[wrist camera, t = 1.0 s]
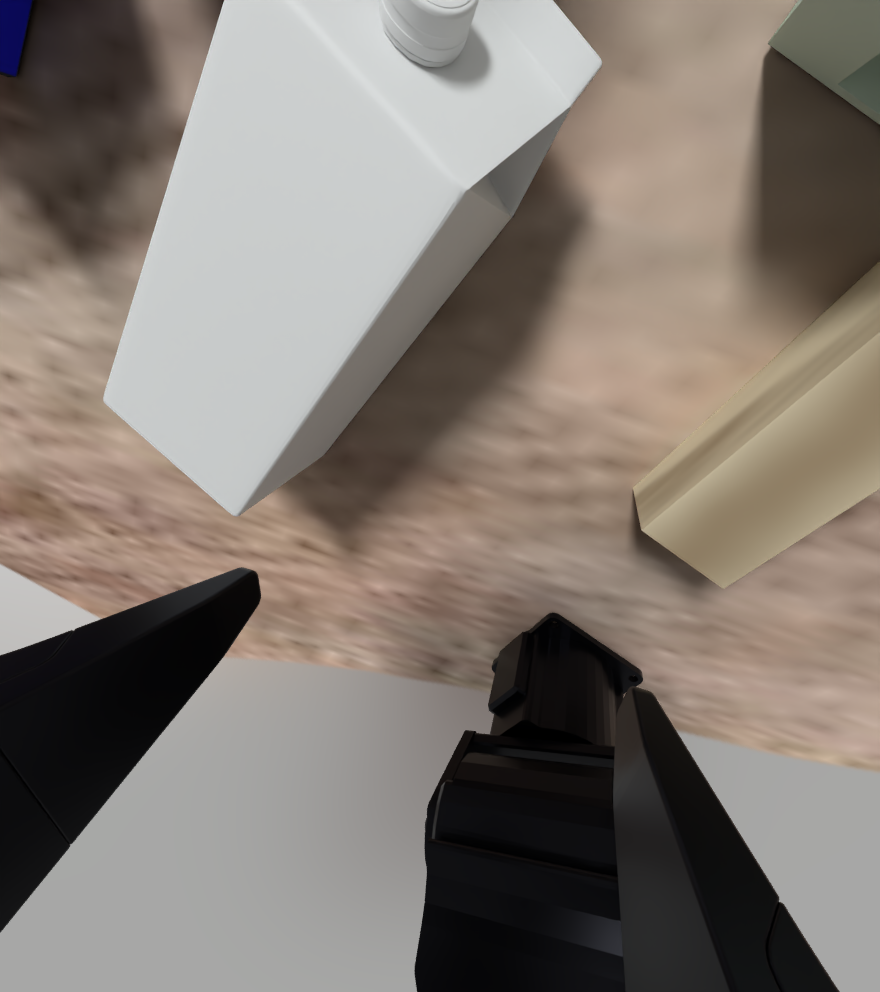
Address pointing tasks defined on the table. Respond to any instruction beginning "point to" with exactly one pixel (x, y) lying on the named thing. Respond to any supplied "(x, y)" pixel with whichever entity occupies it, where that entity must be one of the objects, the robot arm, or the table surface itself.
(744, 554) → the beige rectangular block
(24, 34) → the puzzle cube
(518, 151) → the milk carton
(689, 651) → the table surface
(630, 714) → the robot arm
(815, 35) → the sliding block
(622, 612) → the table surface
